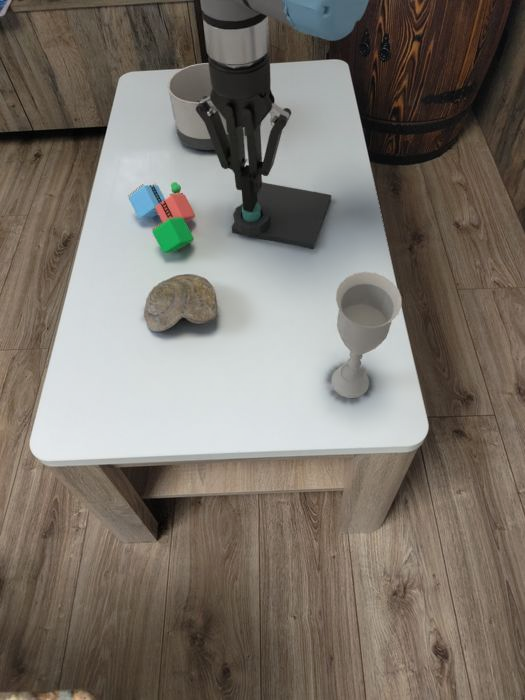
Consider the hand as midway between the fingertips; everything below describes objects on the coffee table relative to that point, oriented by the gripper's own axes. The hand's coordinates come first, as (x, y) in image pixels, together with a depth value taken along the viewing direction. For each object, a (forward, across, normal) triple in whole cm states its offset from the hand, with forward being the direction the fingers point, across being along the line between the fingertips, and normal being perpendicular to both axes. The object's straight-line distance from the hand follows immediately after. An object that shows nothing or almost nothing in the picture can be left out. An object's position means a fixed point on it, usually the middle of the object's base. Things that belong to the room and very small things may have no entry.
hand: (250, 205), depth 80 cm
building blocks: (+5, +14, +5) cm, 16 cm away
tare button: (+2, 0, 0) cm, 2 cm away
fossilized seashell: (+5, +4, +20) cm, 21 cm away
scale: (+5, -4, -4) cm, 7 cm away
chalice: (+5, -22, +24) cm, 33 cm away
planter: (+5, +16, -22) cm, 28 cm away
